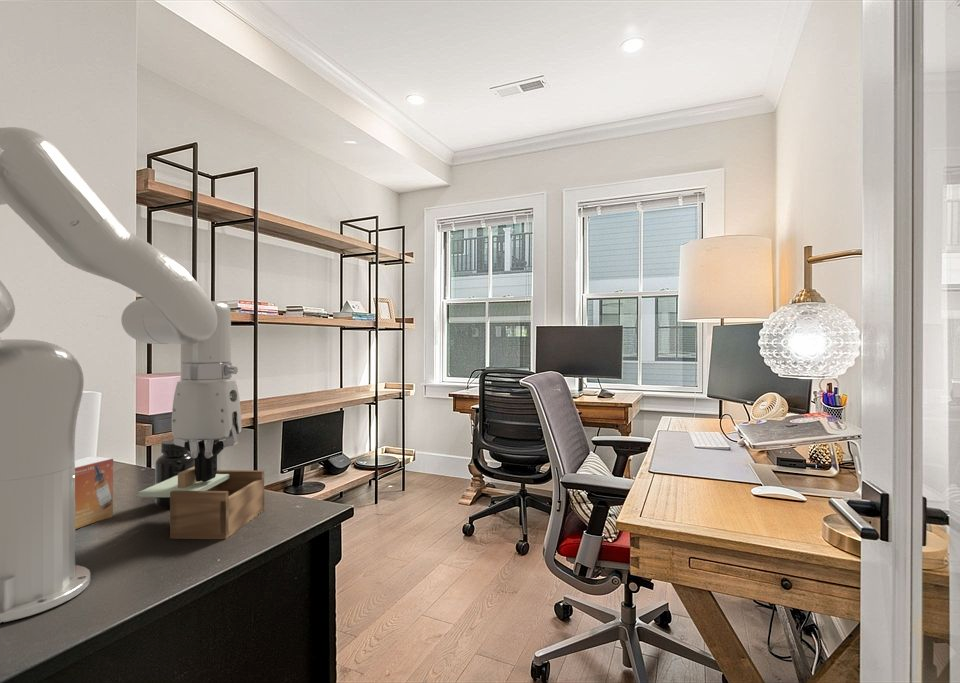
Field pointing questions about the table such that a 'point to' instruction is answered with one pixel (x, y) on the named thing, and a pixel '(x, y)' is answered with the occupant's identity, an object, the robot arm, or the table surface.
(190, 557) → the table surface
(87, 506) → the small box
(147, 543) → the table surface
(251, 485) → the brown wooden box
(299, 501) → the table surface
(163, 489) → the lid
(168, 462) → the supplement bottle
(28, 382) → the robot arm
